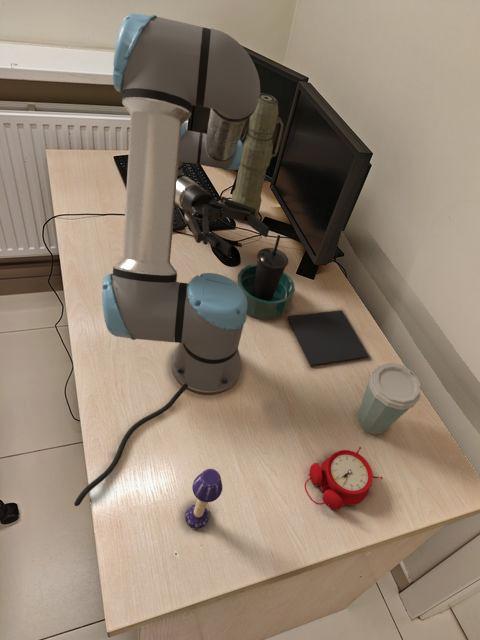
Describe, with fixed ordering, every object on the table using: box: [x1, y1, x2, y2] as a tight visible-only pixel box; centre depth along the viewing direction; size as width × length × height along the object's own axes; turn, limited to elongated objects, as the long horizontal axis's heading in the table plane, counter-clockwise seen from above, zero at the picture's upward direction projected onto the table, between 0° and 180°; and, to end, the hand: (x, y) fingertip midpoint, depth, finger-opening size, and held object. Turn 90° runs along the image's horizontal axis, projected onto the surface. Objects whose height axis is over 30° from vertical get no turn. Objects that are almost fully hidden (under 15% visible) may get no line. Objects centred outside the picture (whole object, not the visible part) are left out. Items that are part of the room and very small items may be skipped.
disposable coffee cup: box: [357, 362, 421, 435], centre depth 96 cm, size 11×11×15 cm
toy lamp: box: [184, 468, 223, 530], centre depth 75 cm, size 5×5×17 cm
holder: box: [286, 309, 370, 368], centre depth 116 cm, size 16×16×1 cm
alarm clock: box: [304, 446, 383, 511], centre depth 89 cm, size 10×6×15 cm
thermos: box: [231, 92, 285, 224], centre depth 131 cm, size 9×12×35 cm
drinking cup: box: [253, 234, 290, 301], centre depth 113 cm, size 8×8×20 cm
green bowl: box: [235, 263, 296, 320], centre depth 118 cm, size 15×15×6 cm
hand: (249, 241), depth 113 cm, fingers open, 13 cm apart
